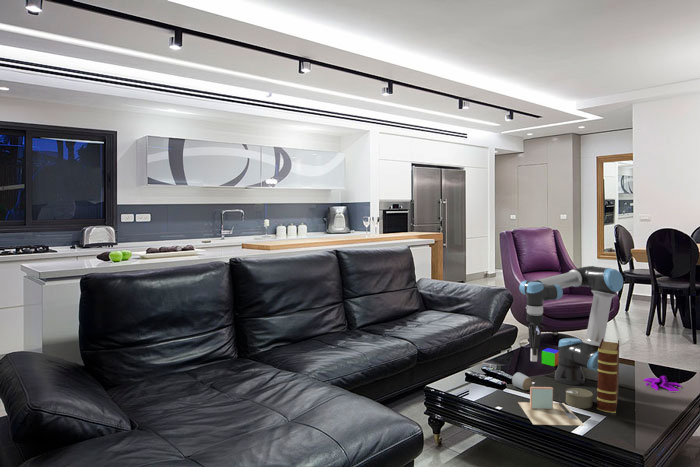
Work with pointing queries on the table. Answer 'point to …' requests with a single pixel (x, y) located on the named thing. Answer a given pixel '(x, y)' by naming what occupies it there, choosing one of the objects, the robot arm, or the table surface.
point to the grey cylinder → (522, 381)
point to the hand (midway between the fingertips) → (533, 360)
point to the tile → (541, 397)
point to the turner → (568, 414)
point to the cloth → (661, 383)
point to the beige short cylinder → (579, 397)
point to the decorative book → (608, 376)
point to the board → (549, 415)
